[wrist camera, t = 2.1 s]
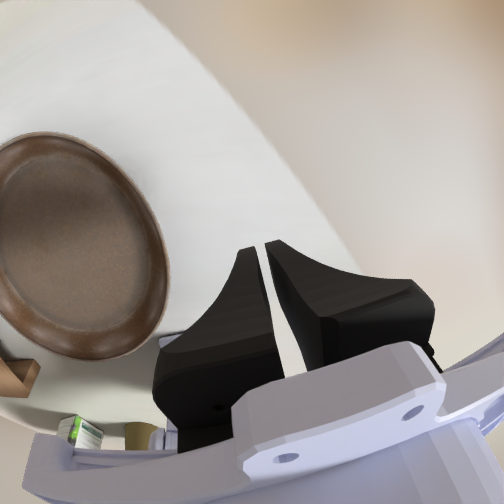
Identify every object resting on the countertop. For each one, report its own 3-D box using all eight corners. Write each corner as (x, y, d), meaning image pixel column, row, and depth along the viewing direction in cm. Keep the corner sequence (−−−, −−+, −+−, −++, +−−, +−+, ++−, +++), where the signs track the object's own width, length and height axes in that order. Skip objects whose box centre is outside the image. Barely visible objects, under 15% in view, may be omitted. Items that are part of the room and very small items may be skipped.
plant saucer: (-40, 203, 17) (-59, 215, 14) (107, 77, 16) (89, 72, 13) (59, 355, 26) (50, 375, 24) (216, 303, 25) (217, 327, 22)
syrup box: (105, 432, 34) (94, 510, 21) (85, 436, 35) (73, 507, 22) (77, 413, 32) (59, 496, 19) (59, 419, 32) (41, 493, 20)
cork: (171, 438, 36) (171, 501, 26) (139, 441, 36) (134, 500, 26) (150, 420, 33) (146, 490, 23) (116, 423, 33) (107, 487, 23)
